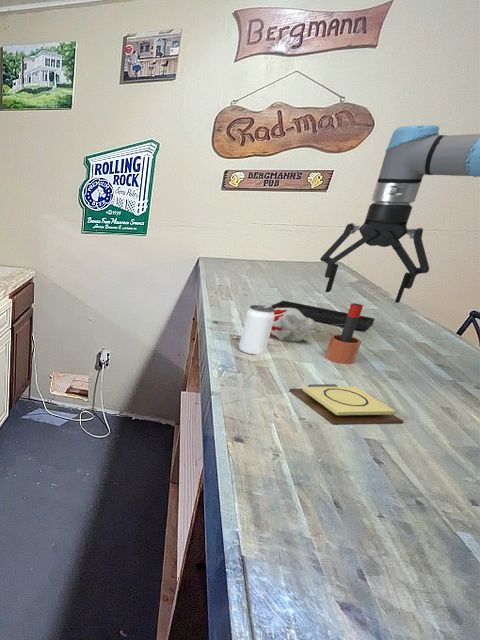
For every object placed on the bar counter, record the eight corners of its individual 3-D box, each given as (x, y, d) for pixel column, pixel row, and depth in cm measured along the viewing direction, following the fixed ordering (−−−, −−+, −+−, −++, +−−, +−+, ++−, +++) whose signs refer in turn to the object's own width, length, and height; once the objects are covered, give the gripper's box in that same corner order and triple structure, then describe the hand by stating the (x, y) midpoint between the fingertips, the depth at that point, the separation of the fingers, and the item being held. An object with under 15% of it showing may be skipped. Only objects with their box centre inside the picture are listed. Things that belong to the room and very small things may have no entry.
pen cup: (359, 365, 114) (367, 343, 112) (335, 365, 114) (342, 343, 112) (342, 355, 120) (349, 334, 118) (318, 356, 120) (325, 334, 117)
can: (233, 348, 124) (242, 306, 119) (248, 344, 127) (258, 303, 122) (254, 357, 119) (265, 313, 114) (270, 352, 122) (282, 309, 117)
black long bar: (379, 314, 146) (356, 332, 128) (376, 322, 148) (353, 342, 129) (289, 297, 164) (257, 311, 145) (287, 305, 165) (255, 320, 147)
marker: (346, 360, 116) (365, 305, 110) (340, 361, 115) (358, 306, 109) (337, 356, 118) (355, 302, 112) (330, 358, 117) (348, 303, 112)
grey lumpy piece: (314, 345, 125) (252, 345, 130) (303, 331, 135) (246, 331, 140) (318, 314, 122) (255, 314, 127) (307, 302, 131) (249, 303, 137)
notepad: (394, 414, 90) (395, 410, 90) (336, 415, 90) (338, 411, 89) (354, 389, 100) (355, 385, 99) (302, 390, 99) (303, 386, 99)
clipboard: (402, 423, 89) (405, 416, 89) (333, 424, 89) (335, 417, 88) (350, 390, 102) (352, 383, 102) (289, 391, 102) (291, 384, 101)
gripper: (322, 201, 107) (298, 289, 115) (468, 208, 91) (428, 310, 100) (328, 199, 112) (305, 284, 120) (468, 205, 96) (430, 302, 105)
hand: (361, 296), depth 110 cm, fingers open, 13 cm apart
